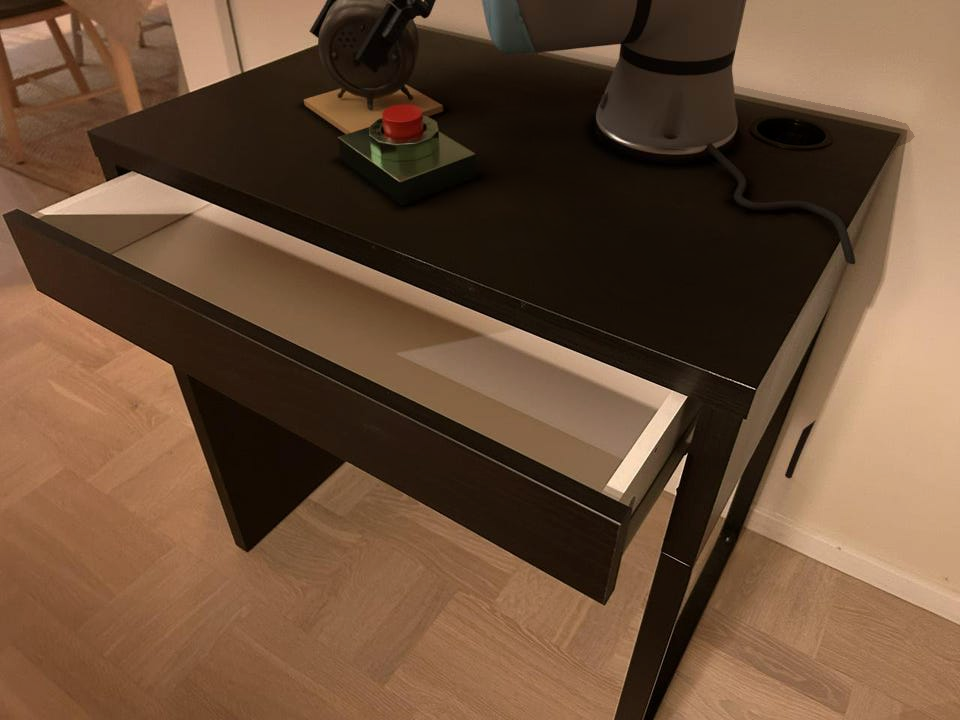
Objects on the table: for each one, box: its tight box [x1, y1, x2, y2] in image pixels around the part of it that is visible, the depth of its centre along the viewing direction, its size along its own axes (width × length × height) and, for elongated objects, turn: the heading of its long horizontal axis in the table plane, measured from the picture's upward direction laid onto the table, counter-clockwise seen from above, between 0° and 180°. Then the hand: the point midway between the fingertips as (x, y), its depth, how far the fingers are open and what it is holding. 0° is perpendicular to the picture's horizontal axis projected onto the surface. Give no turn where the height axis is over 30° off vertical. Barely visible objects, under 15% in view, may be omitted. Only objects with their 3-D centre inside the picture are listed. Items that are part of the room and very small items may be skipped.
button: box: [382, 105, 424, 139], centre depth 75 cm, size 4×4×2 cm
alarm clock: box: [317, 0, 420, 110], centre depth 83 cm, size 11×5×16 cm, turn 86°
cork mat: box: [303, 83, 444, 135], centre depth 89 cm, size 12×12×1 cm
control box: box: [337, 116, 477, 207], centre depth 77 cm, size 12×9×4 cm
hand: (341, 51), depth 83 cm, fingers closed on alarm clock, 9 cm apart
